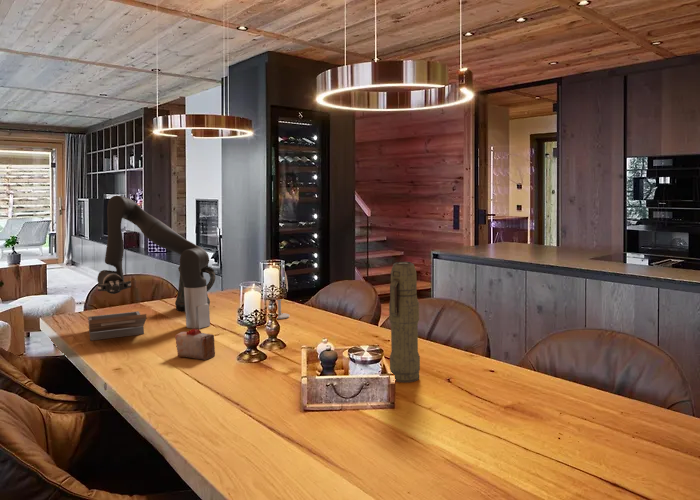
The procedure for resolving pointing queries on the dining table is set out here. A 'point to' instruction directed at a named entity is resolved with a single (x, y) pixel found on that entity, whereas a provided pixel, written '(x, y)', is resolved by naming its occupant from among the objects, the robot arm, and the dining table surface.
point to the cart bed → (118, 331)
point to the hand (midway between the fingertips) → (116, 288)
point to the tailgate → (117, 323)
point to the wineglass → (280, 315)
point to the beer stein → (180, 297)
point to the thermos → (404, 322)
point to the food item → (195, 344)
